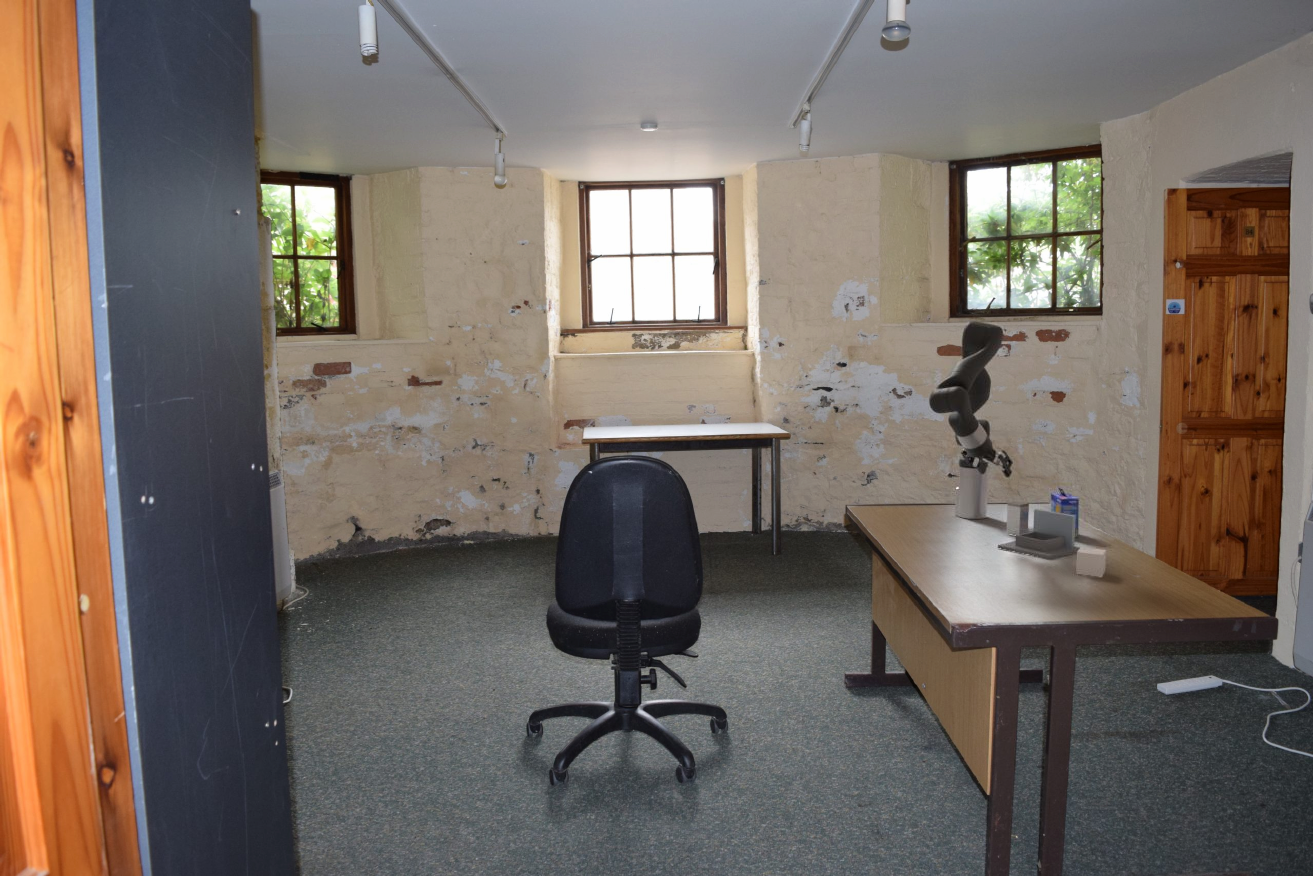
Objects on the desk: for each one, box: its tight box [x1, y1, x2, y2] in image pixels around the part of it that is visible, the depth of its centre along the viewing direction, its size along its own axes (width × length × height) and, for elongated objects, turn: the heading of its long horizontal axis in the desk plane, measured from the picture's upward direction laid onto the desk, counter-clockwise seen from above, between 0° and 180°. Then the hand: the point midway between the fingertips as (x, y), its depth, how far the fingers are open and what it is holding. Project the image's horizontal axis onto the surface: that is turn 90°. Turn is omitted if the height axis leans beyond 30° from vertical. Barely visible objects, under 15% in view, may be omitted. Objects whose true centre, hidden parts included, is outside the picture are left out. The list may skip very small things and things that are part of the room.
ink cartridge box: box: [1050, 487, 1080, 538], centre depth 268 cm, size 10×6×14 cm, turn 174°
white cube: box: [1075, 546, 1107, 578], centre depth 225 cm, size 6×6×6 cm
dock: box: [997, 508, 1081, 560], centre depth 249 cm, size 16×16×10 cm
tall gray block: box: [1005, 500, 1030, 535], centre depth 268 cm, size 4×4×10 cm
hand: (996, 473), depth 260 cm, fingers open, 8 cm apart
